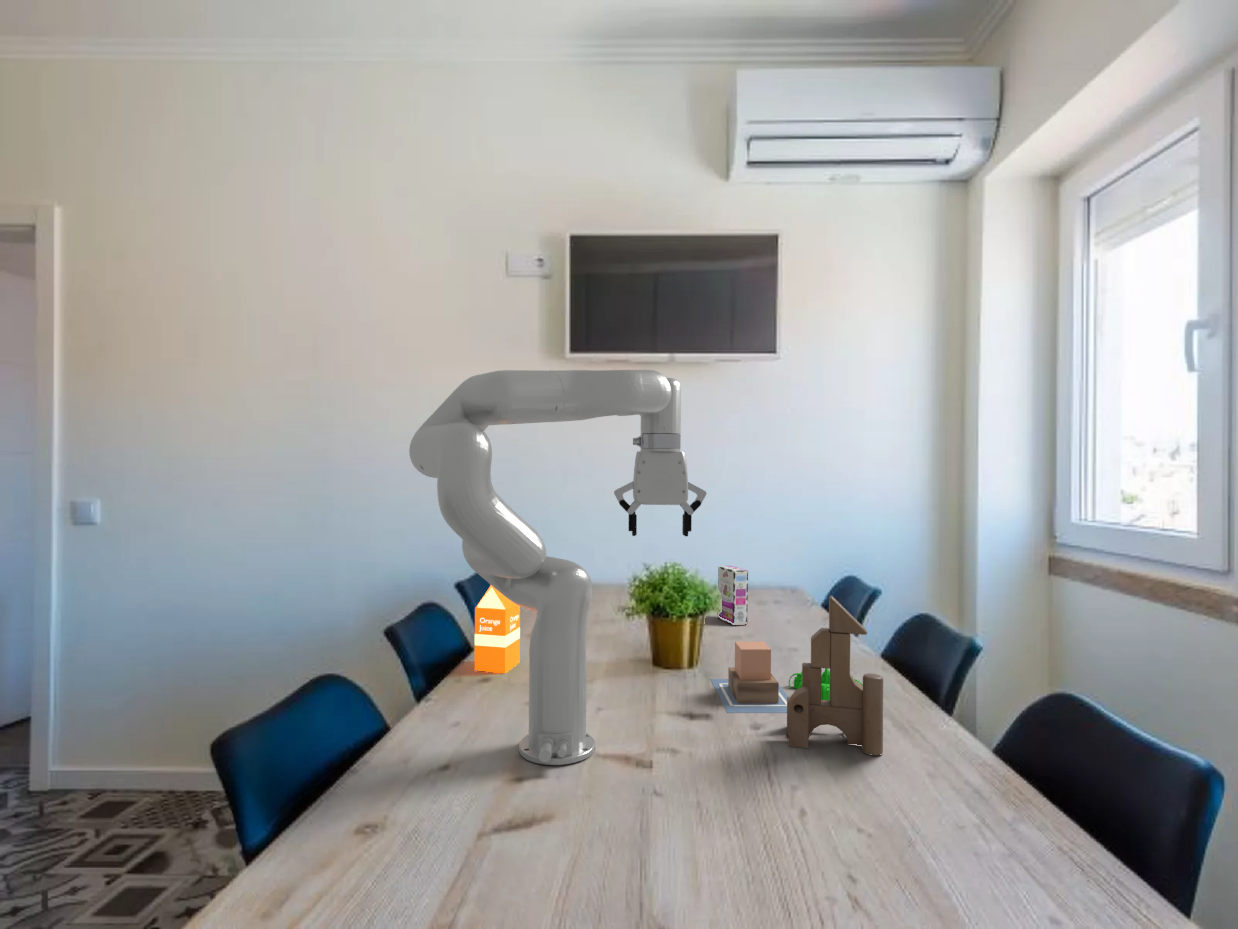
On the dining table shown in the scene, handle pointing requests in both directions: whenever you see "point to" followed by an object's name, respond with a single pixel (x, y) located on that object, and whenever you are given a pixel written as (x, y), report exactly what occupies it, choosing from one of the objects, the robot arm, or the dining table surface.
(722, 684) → the blueprint board
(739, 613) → the candy bar box
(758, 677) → the terracotta cube
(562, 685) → the robot arm
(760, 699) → the walnut base
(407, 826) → the dining table surface
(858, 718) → the wooden toy
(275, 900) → the dining table surface
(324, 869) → the dining table surface
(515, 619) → the orange juice
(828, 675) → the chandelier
